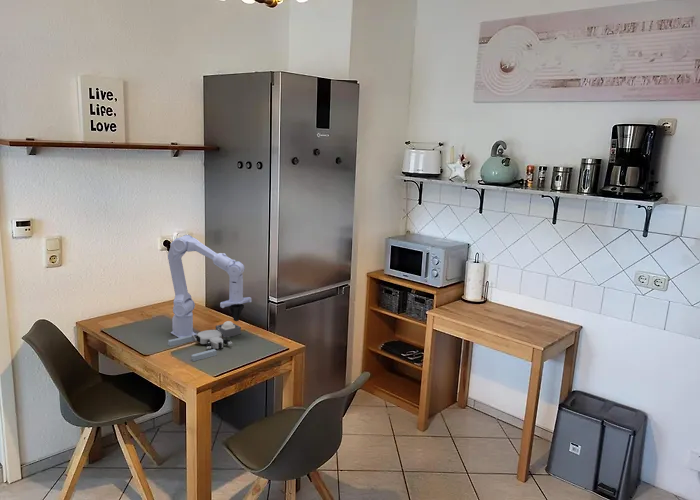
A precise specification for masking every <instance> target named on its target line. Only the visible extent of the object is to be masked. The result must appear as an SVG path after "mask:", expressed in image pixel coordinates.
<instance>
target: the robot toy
mask: <svg viewBox="0 0 700 500" xmlns="http://www.w3.org/2000/svg"><path fill="white" fill-rule="evenodd" d="M218 330H219V329H218ZM218 330H216V329H206V330H202V331H199V332H197V333H196V334H197V335H193V334H192V338H194V340H195V341H197V342H198V344H201V345H206V349H207V350H212V349H215V350H219V349H222V348H223V347H224V345H226V346H228V345H232V344H233V342H232V341H231V340H230V339H227V338H225V339H223V336H222V335H223V334H222V333H221V332H220V330H219V331H218Z"/></svg>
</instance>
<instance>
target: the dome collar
mask: <svg viewBox="0 0 700 500" xmlns="http://www.w3.org/2000/svg"><path fill="white" fill-rule="evenodd" d="M232 323H233V325H235V328H232V329H228V330H225V329H223V328H221V326H222V325H223V324H224V323H223V324H218V325H217V324H216V325H215V330H218V329H219V330H220V332H221V333H222V334H223V335H222V338H225V339H227V338H230V337H234V336H238V335H241V334H242V327H241V326H240V325H238V324H236V323H234V322H232ZM219 330H218V331H219Z"/></svg>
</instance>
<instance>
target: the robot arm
mask: <svg viewBox="0 0 700 500" xmlns="http://www.w3.org/2000/svg"><path fill="white" fill-rule="evenodd" d="M169 245H170V248H169V250H168V253H167V260H168V265H169V270H170V275H171V279H172V280H171V281H172V286H173V290H174V299H173V302H172V303H173V307H172V312H173V316H172V318H171V320H172V331H170V334H172V335H174V336H175V337H176V338H180V337H185V336H189V335H190V336H192V334H193V335H194V336H196V335H197V334H198V333H196V332H194V321H193V319H194V315H193V311H194V309H195V308H196V307H195V306H196V303H195V301H194V300H193V299H192V295H191V294H190V293H189V290H188V286H187V281H186V276H185V275H186V274H185V270H184V266H183V259H182V257H183V256H185V254H186V253H187V252H188V253H189V252H196V253H199V254H201V255H203V256H205V257H206V258H208V259H210V260H211V261H212V263H213V265H215V266H216V267H218V268H219V269H221V270H223V271H225V273H227V276H229V277H228V278H229V280H228V281H229V283H228V284H229V287H228V288H229V297H228V299H227V300H224V301H221V302H220V303H219V307H220V308H222V309H224V308H226V307H228V308H229V310H230V313H231V315H232V320H233V321H234V322H239V320H240V316H241V314H242V311H243V309H244V308H245V305H244V304H246V303H252V302H253V301H252V297H250V296H247V297H244V274H243V273H244V272H245V265H244V263H242V262H241V261H236V259H232V258H230V257H229V256H228V255H227V254H226V253H225V252H223V253H222V252H219V253H217V252H215V251H214V250H213V249H211V248H210V247H208V246H206V245H205V244H204V243H203V242H201V241H199V240H198V238H196V237H193V236H192V235H190V234H184V235H183V236H180V237H176V238H175V239H174V240H172V242H171V243H170V244H169ZM192 337H193V336H192Z"/></svg>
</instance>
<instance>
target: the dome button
mask: <svg viewBox="0 0 700 500" xmlns="http://www.w3.org/2000/svg"><path fill="white" fill-rule="evenodd" d="M233 323H234V322H233V321H230V320H227V321H225V322H223V325H222V324H221V325H222V326H221V328H223V329H225V330H228V329H232V328H235V325H233Z"/></svg>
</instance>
